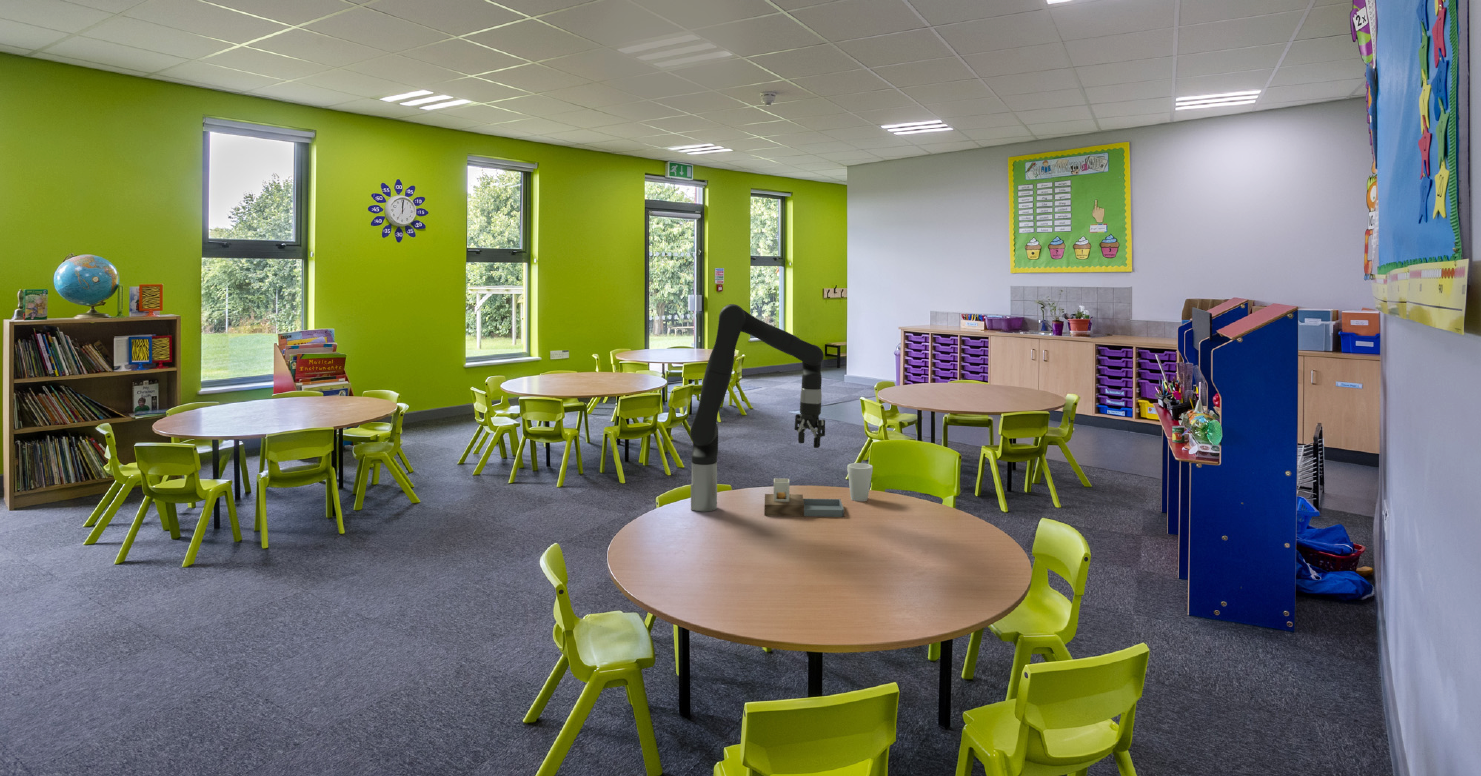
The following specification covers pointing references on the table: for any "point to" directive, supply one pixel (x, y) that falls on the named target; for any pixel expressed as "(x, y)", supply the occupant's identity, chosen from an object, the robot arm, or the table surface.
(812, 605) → the table surface
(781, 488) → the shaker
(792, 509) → the platform
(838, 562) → the table surface
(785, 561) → the table surface
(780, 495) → the ball
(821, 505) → the tray
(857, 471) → the foam cup
